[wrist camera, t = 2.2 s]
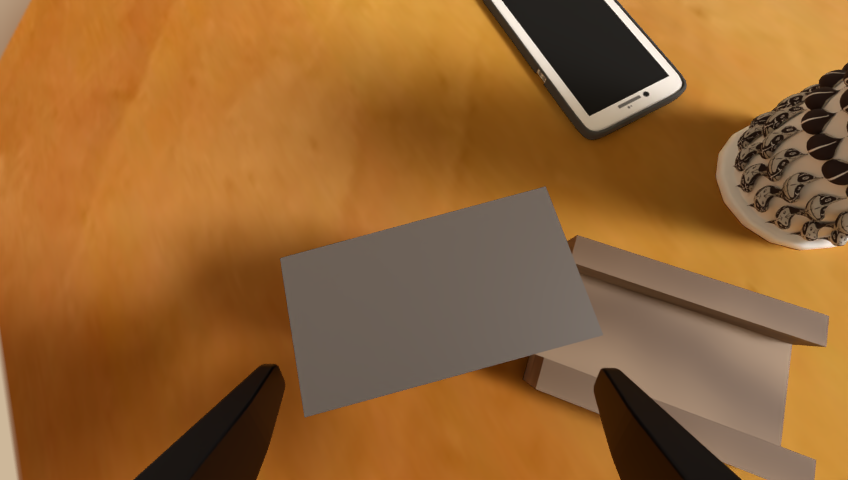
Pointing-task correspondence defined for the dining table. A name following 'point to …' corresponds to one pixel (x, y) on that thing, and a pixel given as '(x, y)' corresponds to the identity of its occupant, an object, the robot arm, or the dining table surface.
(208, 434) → the robot arm
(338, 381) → the grey rectangular box
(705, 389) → the tray
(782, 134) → the decorative candle
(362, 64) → the dining table surface
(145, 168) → the dining table surface
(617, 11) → the cell phone
